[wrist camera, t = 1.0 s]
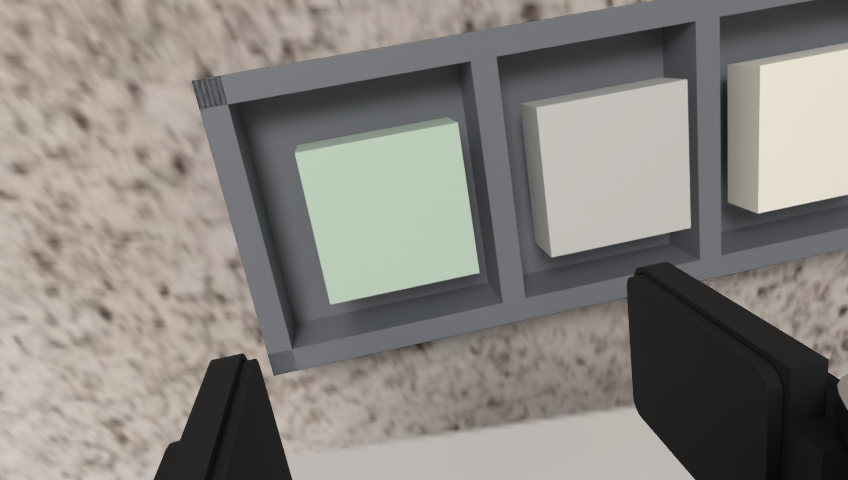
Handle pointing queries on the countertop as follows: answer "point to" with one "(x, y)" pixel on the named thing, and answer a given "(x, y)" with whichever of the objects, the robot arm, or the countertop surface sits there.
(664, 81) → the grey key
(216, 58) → the countertop surface
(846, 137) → the cream key
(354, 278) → the sage key
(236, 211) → the grey compartment tray
